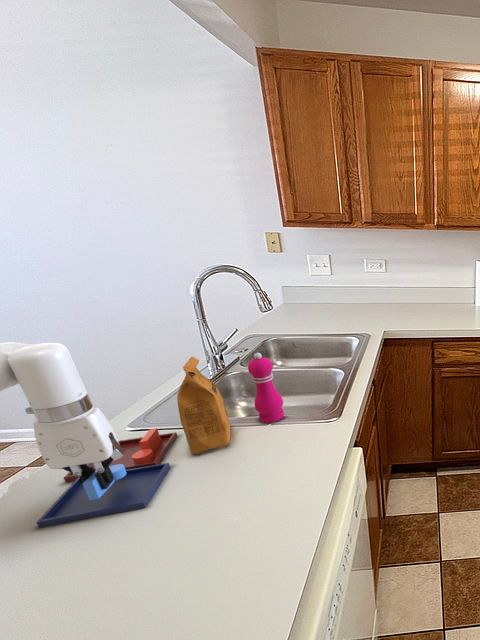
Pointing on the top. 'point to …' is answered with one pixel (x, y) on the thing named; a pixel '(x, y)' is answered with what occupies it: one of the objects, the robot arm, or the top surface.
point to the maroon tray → (133, 447)
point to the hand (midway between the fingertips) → (101, 485)
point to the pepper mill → (265, 390)
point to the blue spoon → (94, 487)
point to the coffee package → (202, 411)
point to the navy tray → (106, 497)
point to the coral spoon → (147, 447)
